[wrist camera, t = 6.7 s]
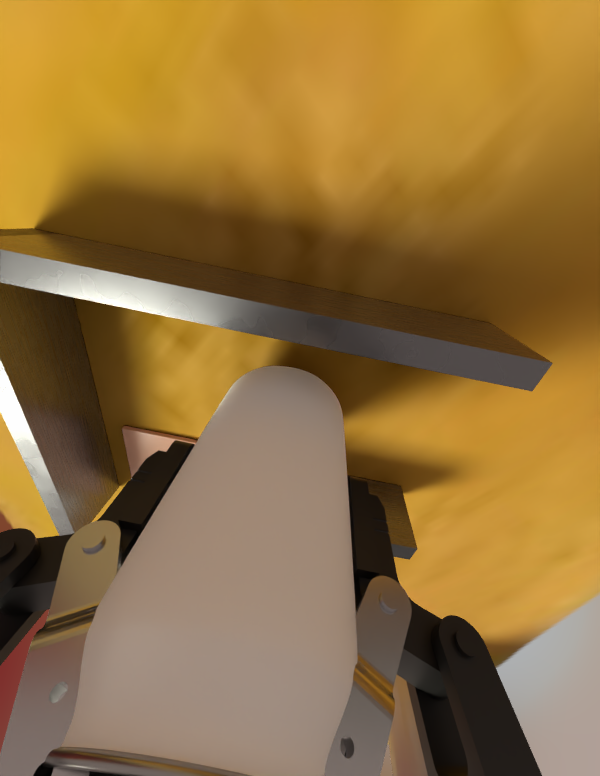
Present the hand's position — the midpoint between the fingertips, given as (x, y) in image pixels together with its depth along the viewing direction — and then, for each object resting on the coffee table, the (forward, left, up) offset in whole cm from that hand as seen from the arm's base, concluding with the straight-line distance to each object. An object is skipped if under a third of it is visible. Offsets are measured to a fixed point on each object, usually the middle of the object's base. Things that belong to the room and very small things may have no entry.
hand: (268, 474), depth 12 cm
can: (0, 0, -4) cm, 4 cm away
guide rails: (+2, +2, -6) cm, 7 cm away
